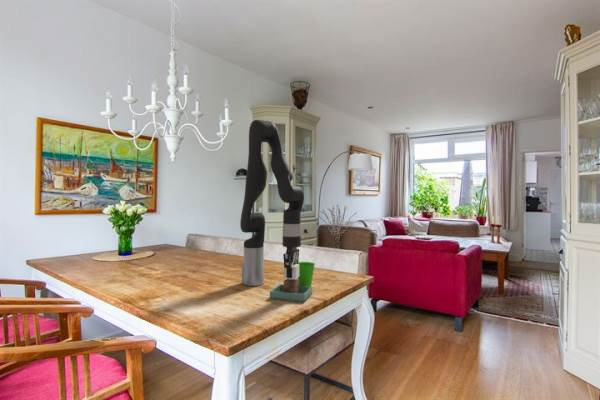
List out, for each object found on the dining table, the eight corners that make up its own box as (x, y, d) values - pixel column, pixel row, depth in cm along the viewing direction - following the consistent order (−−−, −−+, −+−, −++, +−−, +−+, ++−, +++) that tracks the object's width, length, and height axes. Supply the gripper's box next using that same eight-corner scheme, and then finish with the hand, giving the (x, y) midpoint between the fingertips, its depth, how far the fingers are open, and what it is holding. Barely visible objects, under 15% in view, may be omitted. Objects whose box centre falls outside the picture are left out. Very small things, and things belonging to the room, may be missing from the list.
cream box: (283, 278, 130) (283, 265, 130) (287, 275, 134) (287, 263, 134) (295, 279, 128) (295, 266, 128) (299, 276, 133) (299, 264, 133)
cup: (297, 292, 138) (297, 266, 138) (292, 286, 147) (292, 262, 146) (317, 290, 140) (317, 265, 140) (311, 285, 149) (311, 261, 149)
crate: (269, 298, 128) (269, 291, 128) (279, 291, 139) (279, 284, 139) (304, 302, 124) (304, 294, 124) (312, 294, 135) (312, 286, 135)
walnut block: (283, 296, 130) (283, 281, 130) (287, 292, 135) (287, 278, 135) (295, 297, 128) (295, 282, 128) (298, 293, 133) (299, 279, 133)
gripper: (295, 237, 123) (294, 281, 123) (305, 233, 137) (305, 273, 137) (276, 236, 126) (276, 279, 126) (288, 232, 139) (288, 271, 139)
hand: (291, 276), depth 131 cm, fingers closed on cream box, 5 cm apart
